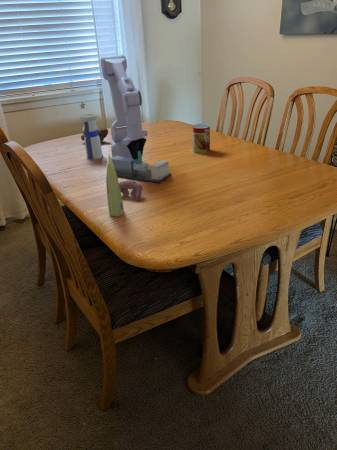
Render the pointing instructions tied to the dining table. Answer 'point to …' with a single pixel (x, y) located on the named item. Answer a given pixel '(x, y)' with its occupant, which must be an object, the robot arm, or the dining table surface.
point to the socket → (160, 170)
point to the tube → (113, 190)
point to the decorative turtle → (101, 133)
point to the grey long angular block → (133, 171)
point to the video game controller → (131, 185)
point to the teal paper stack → (139, 163)
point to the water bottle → (91, 135)
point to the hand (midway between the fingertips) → (137, 157)
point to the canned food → (201, 138)
